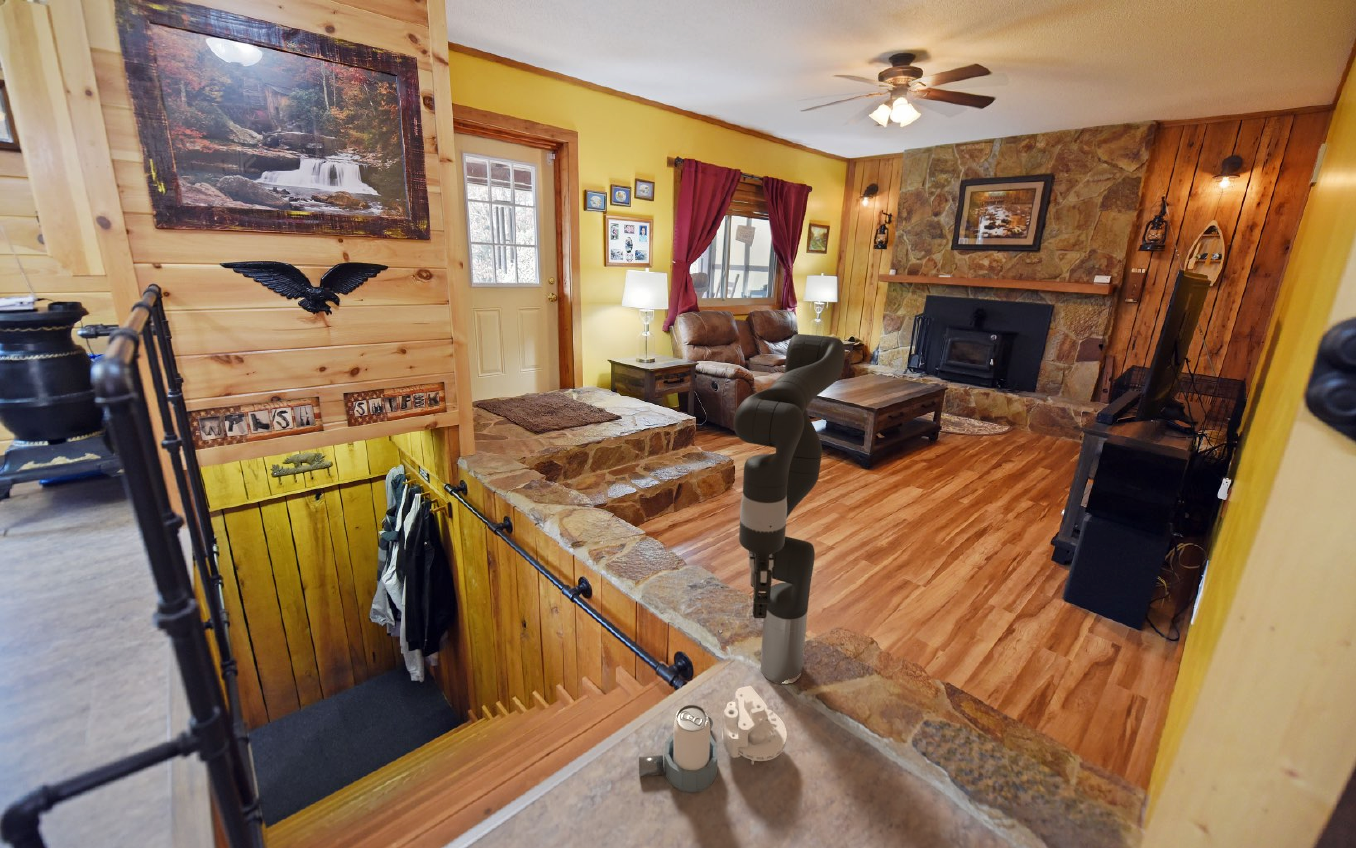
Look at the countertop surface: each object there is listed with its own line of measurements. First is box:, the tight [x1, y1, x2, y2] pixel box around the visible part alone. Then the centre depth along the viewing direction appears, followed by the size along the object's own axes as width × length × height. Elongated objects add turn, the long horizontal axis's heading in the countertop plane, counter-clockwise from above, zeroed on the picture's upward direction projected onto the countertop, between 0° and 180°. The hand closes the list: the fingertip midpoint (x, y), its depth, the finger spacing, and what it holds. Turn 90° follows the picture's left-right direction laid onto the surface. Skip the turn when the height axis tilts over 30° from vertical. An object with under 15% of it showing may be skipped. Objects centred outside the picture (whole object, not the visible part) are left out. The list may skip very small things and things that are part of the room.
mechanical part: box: [721, 685, 788, 765], centre depth 104 cm, size 11×12×12 cm
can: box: [673, 704, 711, 771], centre depth 99 cm, size 6×6×12 cm
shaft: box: [638, 754, 665, 777], centre depth 101 cm, size 4×3×3 cm
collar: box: [663, 731, 718, 794], centre depth 102 cm, size 10×10×4 cm
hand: (757, 600), depth 96 cm, fingers open, 8 cm apart
